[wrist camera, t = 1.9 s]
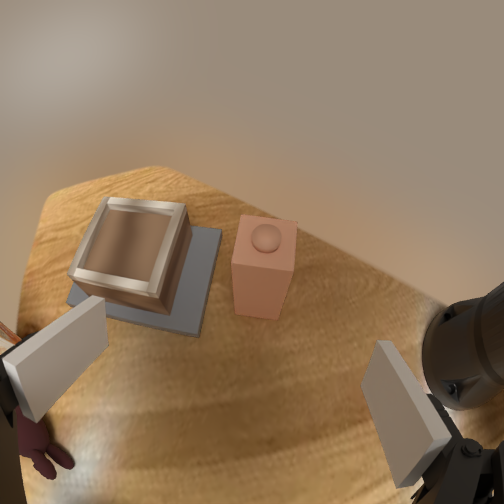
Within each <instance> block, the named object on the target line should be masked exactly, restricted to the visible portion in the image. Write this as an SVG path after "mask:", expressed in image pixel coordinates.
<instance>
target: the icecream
mask: <svg viewBox="0 0 504 504" xmlns="http://www.w3.org/2000/svg"><path fill="white" fill-rule="evenodd" d="M15 411H16V414H17V432H18V447H19V455H22V456H24V457H28V458H31V459H32V461H33V462H34V465H33V466H34V468H35V469H36V470H37V471H39V472H40V473H41V475H43V476H44V477H46V478H47V479H51V480H54V479H55V478H56V475H57V472H56V470H55V467H54V465H53V464H52V462H51V461H50V460H49V459H47V458H46V457H45V455H44V454H45V452H46V453H47V454H48V455H49V456H50V457H51V458H52V459H53V460H54V461H55V462H56V463H57V464H59V465H60V466H62V467H64V468H66V469H69V470H70V469H72V468H73V467H74V463H73V461H72V459H71V458H70V457H69V456H68V455H67V454H66V453H65V452H64V451H62V450H61V449H59V448H58V447H56V446H54V445H52V444H50V439H49V434H48V431H47V428H46V426H45V423H44V421H43V420H42V419H40V420H39V421H38V422H37V423H36V422H34V421H32V420H31V419H29V418H27V417H26V416H24V415H23V413H22V411H21V408H20V406H19V405H18V406H17V407H16V408H15Z"/></svg>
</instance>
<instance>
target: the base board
mask: <svg viewBox="0 0 504 504" xmlns="http://www.w3.org/2000/svg"><path fill="white" fill-rule="evenodd" d="M191 231H192V235H193V236H192V239H191V243H190V246H189V249H188V253H187V256H186V260H185V263H184V267H183V270H182V274H181V277H180V281H179V284H178V288H177V292H176V295H175V299H174V303H173V307H172V310H171V314H170V316H168V315H163V314H158V313H154V312H149V311H144V310H140V309H135V308H131V307H126V306H122V305H118V304H113V303H109V302H105V310H106V317H108V318H112V319H116V320H120V321H124V322H128V323H132V324H136V325H140V326H145V327H149V328H153V329H158V330H163V331H167V332H172V333H177V334H182V335H187V336H192V337H198V338H199V337H200V332H201V327H202V323H203V318H204V313H205V309H206V304H207V300H208V295H209V291H210V286H211V282H212V278H213V273H214V269H215V265H216V260H217V256H218V252H219V247H220V243H221V239H222V229H214V228H206V227H198V226H191ZM87 298H89V296H88V295H87V294H86V293H85V292H84V291H83V290H82V289H81V288H80V287H79V286H78V285H77V284H76V283H75V282H73V285H72V288H71V290H70V293H69V296H68V298H67V301H66V303H67V304H68V305H69V306H71V307H73V308H74V307H76V306H77V305H78V304H80V303H81V302H83V301H84V300H86V299H87Z"/></svg>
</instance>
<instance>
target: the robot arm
mask: <svg viewBox="0 0 504 504" xmlns="http://www.w3.org/2000/svg"><path fill="white" fill-rule="evenodd" d="M108 346H109V344H108V334H107V323H106V310H105V298H102V297H98V296H94V295H92V296H90V297H89V298H87V299H86V300H84V301H83V302H81V303H80V304H78V305H77V306H76V307H74V308H73V309H71V310H70V311H68V312H67V313H65V314H64V315H62V316H61V317H59V318H58V319H56V320H55V321H54V322H52V323H51V324H49V325H48V326H46V327H45V328H44V329H42V330H41V331H37V332H35V333H32V334H29V335H27V336H26V337H25V338H23V339H22V340H21V341H19V342H18V343H16V344H15V345H13V346H12V347H11V348H9V349H8V350H6V351H5V352H4V353H2V354H1V355H0V504H27V501H26V496H25V491H24V486H23V479H22V473H21V465H20V457H19V447H18V432H17V414H16V411H15V408H16V407H17V406H18V405H19V406H20V408H21V411H22V413H23V415H24V416H26V417H27V418H29V419H31V420H32V421H34V422H36V423H37V422H38V421H39V420H40V419H41V418H42V417H43V416H44V415H45V413H46V412H47V411H48V410H49V409H50V408H51V407H52V406H53V405H54V403H55V402H56V401H57V400H58V399H59V398H60V397H61V396H62V395H63V394H64V393H65V391H66V390H67V389H68V388H69V387H70V386H71V385H72V384H73V383H74V382H75V381H76V380H77V379H78V377H79V376H80V375H81V374H82V373H83V372H84V371H85V370H86V369H87V368H88V367H89V366H90V365H91V364H92V363H93V362H94V361H95V359H96V358H97V357H98V356H99V355H100V354H101V353H102V352H103V351H104V350H105V349H106V348H107V347H108ZM423 368H424V373H425V377H426V380H427V383H428V385H429V387H430V389H431V391H432V393H433V394H434V396H433V395H432V394H426V393H425V391H424V390H423V388H422V387H421V385H420V384H419V382H418V381H417V379H416V377H415V376H414V374H413V373H412V371H411V370H410V368H409V367H408V365H407V364H406V362H405V361H404V359H403V358H402V356H401V355H400V353H399V352H398V350H397V349H396V347H395V346H394V344H393V343H392V341H387V340H377V342H376V345H375V348H374V350H373V353H372V356H371V359H370V362H369V365H368V367H367V370H366V373H365V375H364V378H363V380H362V383H361V389H362V391H363V394H364V397H365V399H366V402H367V405H368V408H369V410H370V413H371V416H372V418H373V421H374V424H375V427H376V430H377V432H378V435H379V438H380V441H381V444H382V447H383V450H384V453H385V456H386V459H387V462H388V465H389V468H390V471H391V474H392V477H393V480H394V483H395V486H396V489H397V488H403V487H408V486H413V485H414V484H415V483H416V482H417V481H418V480H419V479H420V478H421V476H422V478H423V480H424V484H423V485H422V486H421V487H420V488H419V489H418V490H417V491H416V493H415V494H414V495H413V496H412V497H411V498H410V499H413V498H414V497H415V496H416V497H415V499H414V501H413V503H412V504H504V441H502V442H501V443H500V444H499V446H498V447H497V448H496V449H483V448H482V446H481V445H480V444H479V443H478V442H477V441H475V440H473V439H468V438H465V439H464V438H463V437H462V435H461V433H460V432H459V430H458V429H457V427H456V425H455V424H454V422H453V421H452V419H451V417H449V414H448V413H447V411H446V410H445V408H444V407H443V405H444V406H446V407H448V408H450V409H453V410H459V411H461V410H468V409H473V408H477V407H479V406H481V405H483V404H485V403H486V402H488V401H489V400H490V399H492V398H493V397H494V396H496V395H497V394H498V393H499V392H501V391H502V390H503V389H504V282H503V283H501V284H500V285H499V286H498V287H496V288H495V289H494V290H492V291H491V292H490V293H488V294H487V295H486V296H484V297H480V298H475V299H470V300H466V301H460V302H457V303H454V304H452V305H450V306H449V307H447V308H446V309H445V310H443V311H442V312H440V313H439V314H438V315H437V316H436V317H435V318H434V320H433V321H432V322H431V324H430V326H429V328H428V330H427V333H426V336H425V340H424V345H423ZM442 404H443V405H442ZM493 490H494V496H493V497H492V491H493Z"/></svg>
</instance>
